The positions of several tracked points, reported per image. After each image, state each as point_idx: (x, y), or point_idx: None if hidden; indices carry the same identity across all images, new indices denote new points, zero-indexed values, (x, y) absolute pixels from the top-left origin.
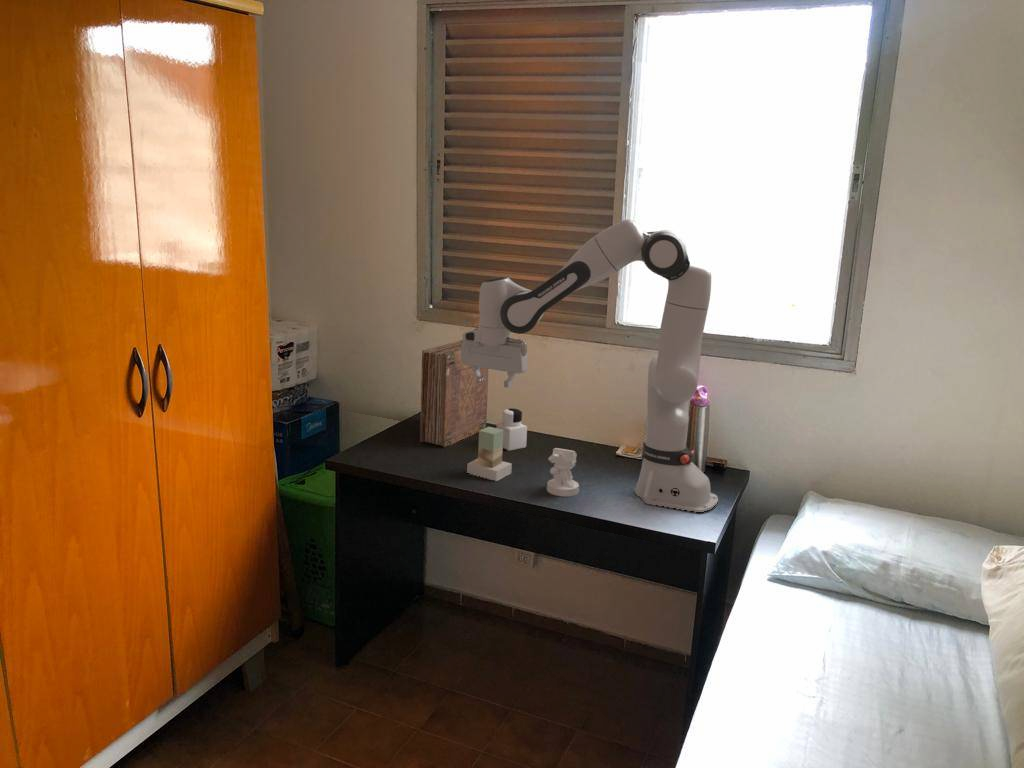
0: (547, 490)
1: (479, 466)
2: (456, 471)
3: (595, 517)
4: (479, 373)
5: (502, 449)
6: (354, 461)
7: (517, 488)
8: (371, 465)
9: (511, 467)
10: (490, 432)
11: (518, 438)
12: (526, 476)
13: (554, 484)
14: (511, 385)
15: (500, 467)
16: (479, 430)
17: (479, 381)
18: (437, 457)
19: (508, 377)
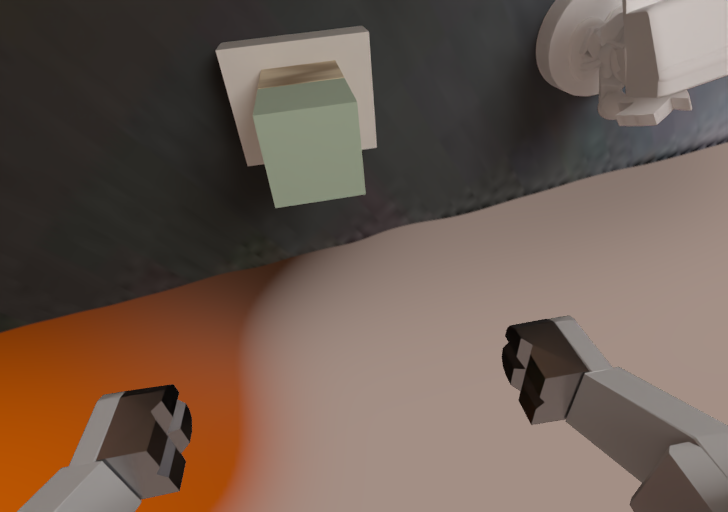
0: (546, 80)
1: None
2: (210, 162)
3: (707, 142)
4: (86, 497)
5: (342, 74)
6: None
7: (455, 132)
8: (11, 309)
9: (365, 29)
10: (336, 187)
11: None
12: (424, 7)
13: (583, 79)
14: (574, 320)
15: (363, 107)
16: (275, 205)
17: (187, 431)
18: (19, 103)
19: (627, 469)
